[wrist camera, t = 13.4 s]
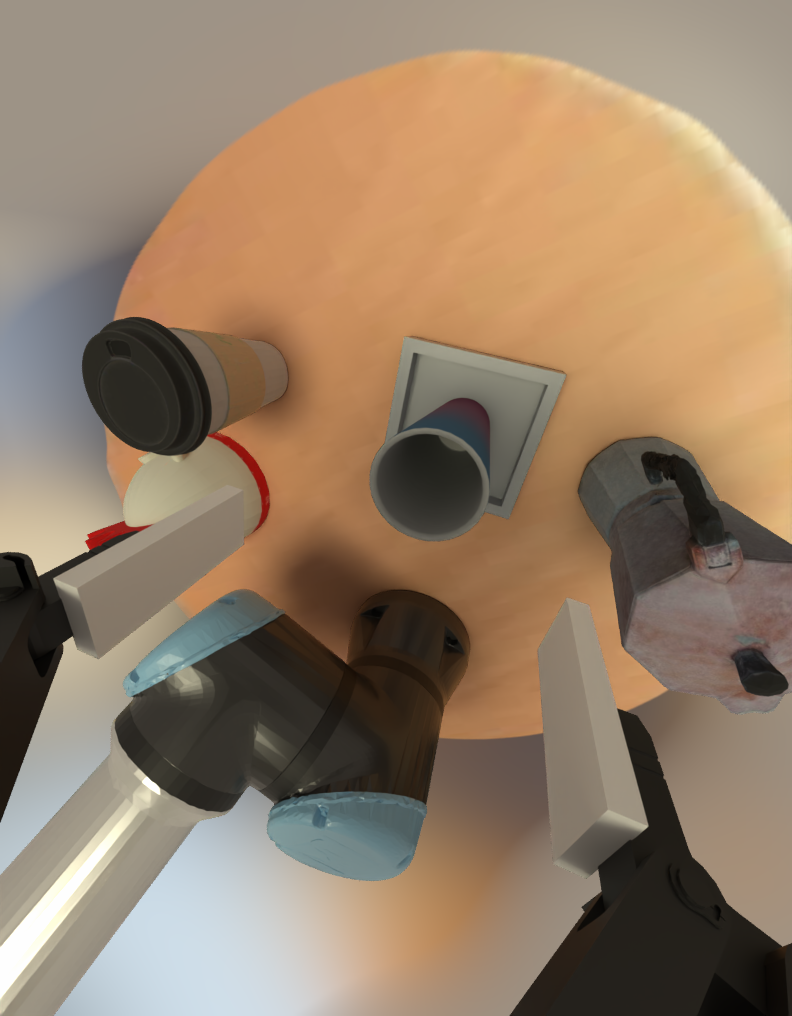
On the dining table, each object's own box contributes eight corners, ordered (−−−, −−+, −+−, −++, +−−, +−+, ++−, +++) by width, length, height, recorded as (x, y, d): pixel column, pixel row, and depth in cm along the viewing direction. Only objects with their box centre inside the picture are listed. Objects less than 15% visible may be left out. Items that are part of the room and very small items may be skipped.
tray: (509, 507, 36) (508, 519, 34) (385, 470, 38) (378, 479, 36) (562, 371, 30) (566, 374, 28) (411, 336, 32) (404, 336, 30)
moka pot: (604, 568, 36) (685, 789, 19) (539, 430, 32) (564, 549, 15) (722, 535, 32) (967, 783, 14) (662, 372, 28) (895, 444, 11)
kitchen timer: (157, 434, 45) (14, 477, 32) (249, 425, 41) (125, 470, 28) (198, 533, 51) (89, 603, 38) (282, 534, 46) (192, 614, 33)
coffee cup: (275, 302, 34) (128, 286, 21) (320, 400, 37) (215, 437, 24) (207, 346, 38) (48, 354, 25) (253, 431, 41) (131, 478, 28)
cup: (425, 460, 36) (374, 536, 23) (424, 387, 33) (363, 427, 20) (498, 463, 34) (486, 547, 21) (503, 385, 31) (493, 428, 18)
